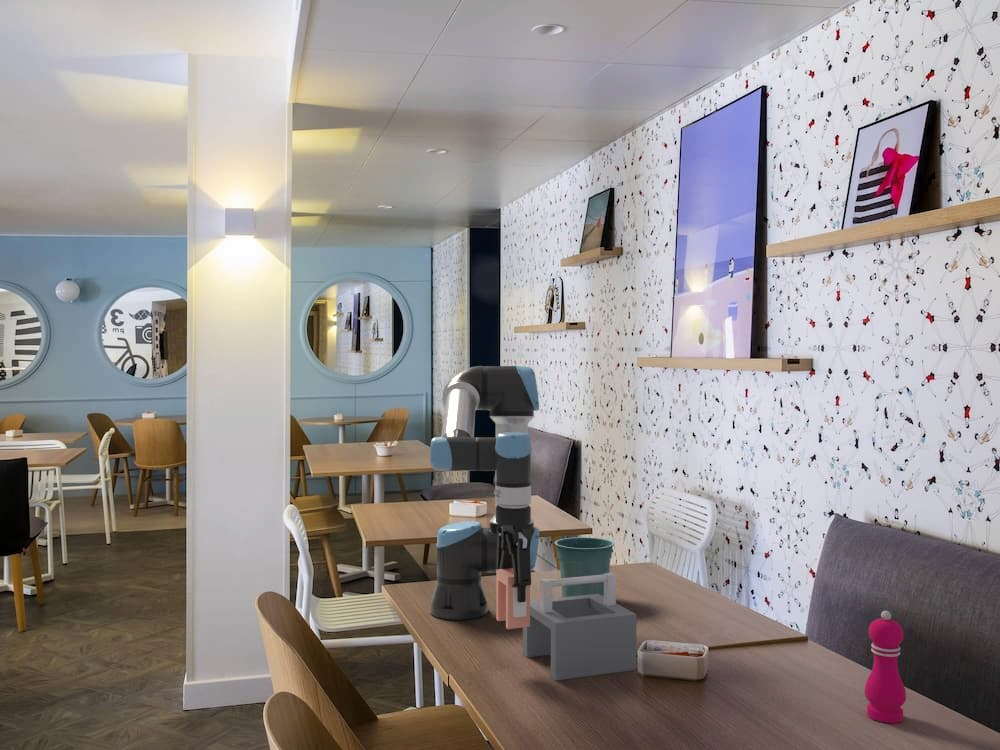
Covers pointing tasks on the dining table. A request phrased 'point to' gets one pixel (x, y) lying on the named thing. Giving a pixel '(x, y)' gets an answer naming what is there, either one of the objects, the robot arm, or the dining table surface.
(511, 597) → the coral u-channel block
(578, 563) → the flower pot
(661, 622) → the dining table surface
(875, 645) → the pepper mill
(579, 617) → the gray square frame
